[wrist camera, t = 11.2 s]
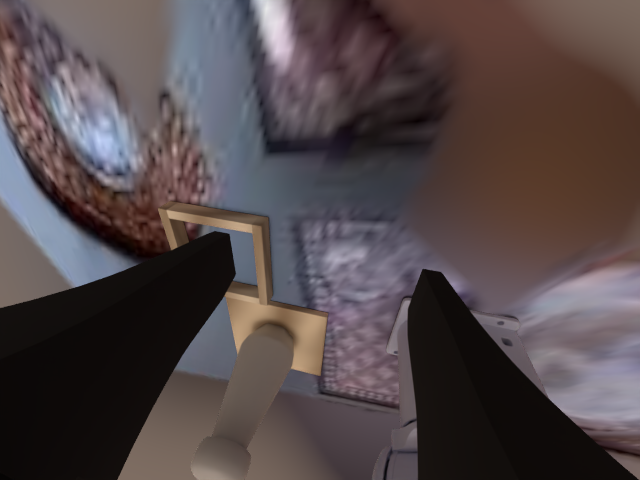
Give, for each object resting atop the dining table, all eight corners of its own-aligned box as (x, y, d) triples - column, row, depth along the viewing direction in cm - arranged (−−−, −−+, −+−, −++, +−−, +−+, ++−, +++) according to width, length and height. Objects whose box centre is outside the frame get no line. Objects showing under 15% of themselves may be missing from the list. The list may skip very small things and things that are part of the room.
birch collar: (268, 217, 22) (261, 226, 20) (272, 295, 27) (267, 306, 26) (170, 201, 23) (157, 208, 22) (192, 278, 28) (183, 287, 27)
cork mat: (328, 313, 26) (326, 317, 26) (321, 371, 33) (320, 375, 32) (228, 291, 28) (225, 295, 28) (239, 350, 34) (237, 355, 34)
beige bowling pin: (284, 357, 32) (232, 503, 21) (244, 334, 31) (168, 473, 20) (308, 337, 28) (261, 497, 18) (264, 310, 27) (186, 461, 17)
